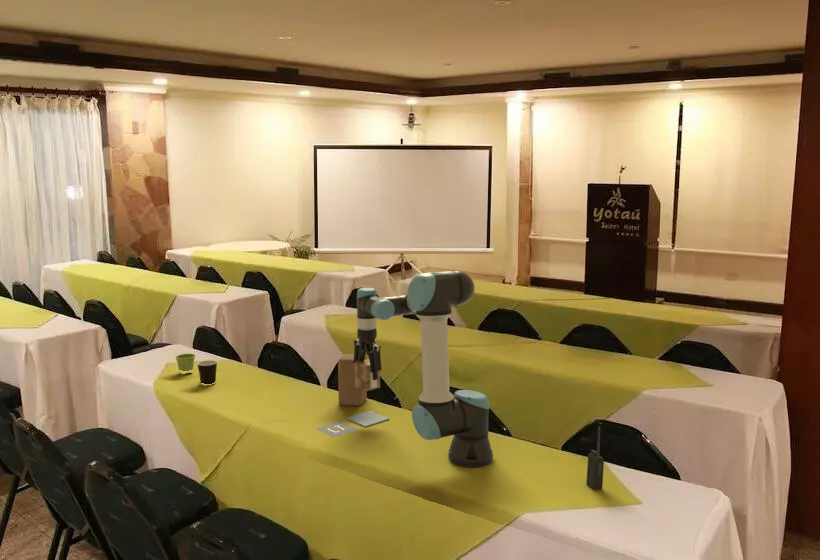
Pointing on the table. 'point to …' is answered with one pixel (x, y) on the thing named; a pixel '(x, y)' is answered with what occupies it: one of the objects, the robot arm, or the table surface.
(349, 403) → the wooden block
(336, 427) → the plate
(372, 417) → the pad
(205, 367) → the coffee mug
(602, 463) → the walkie-talkie
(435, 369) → the robot arm
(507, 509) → the table surface
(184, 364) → the plant pot
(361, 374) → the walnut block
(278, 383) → the table surface
